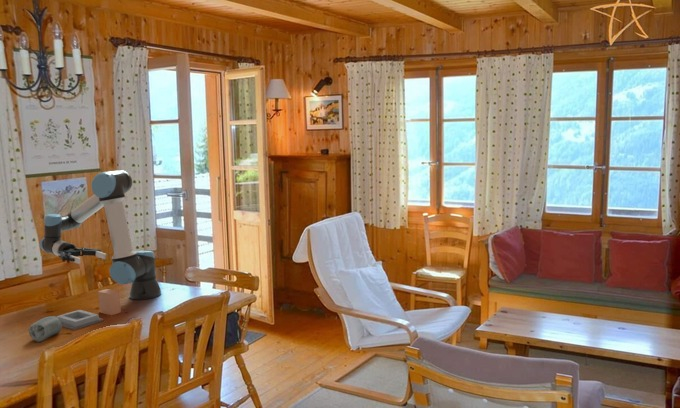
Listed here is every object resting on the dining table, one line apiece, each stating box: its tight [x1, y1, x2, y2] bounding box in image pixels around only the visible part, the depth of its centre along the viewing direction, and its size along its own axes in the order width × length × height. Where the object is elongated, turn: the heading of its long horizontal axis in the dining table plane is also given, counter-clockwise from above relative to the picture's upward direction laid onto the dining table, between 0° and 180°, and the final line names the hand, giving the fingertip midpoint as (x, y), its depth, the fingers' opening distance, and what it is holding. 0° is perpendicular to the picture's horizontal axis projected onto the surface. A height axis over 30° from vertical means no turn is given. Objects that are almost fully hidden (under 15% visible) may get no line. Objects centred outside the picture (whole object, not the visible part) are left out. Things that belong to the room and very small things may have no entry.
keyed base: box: [55, 309, 104, 331], centre depth 260 cm, size 14×17×3 cm
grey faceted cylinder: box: [28, 315, 63, 343], centre depth 241 cm, size 14×10×10 cm
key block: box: [97, 288, 122, 316], centre depth 273 cm, size 5×9×10 cm, turn 55°
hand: (92, 258), depth 276 cm, fingers open, 13 cm apart
